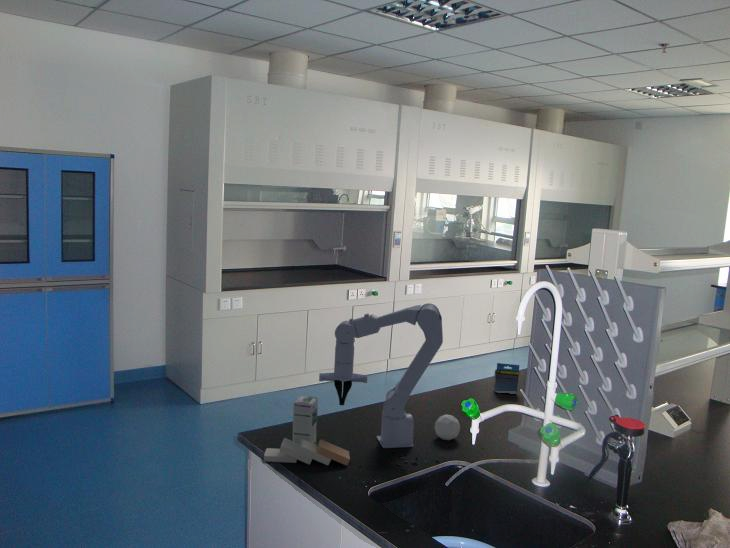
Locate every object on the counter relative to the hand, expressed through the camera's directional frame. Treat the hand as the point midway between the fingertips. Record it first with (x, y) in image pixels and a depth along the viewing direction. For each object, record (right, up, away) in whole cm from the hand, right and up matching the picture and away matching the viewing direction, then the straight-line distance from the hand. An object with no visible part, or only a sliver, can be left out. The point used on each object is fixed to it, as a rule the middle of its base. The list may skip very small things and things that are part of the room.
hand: (341, 404), depth 179 cm
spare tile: (+2, -12, -15) cm, 19 cm away
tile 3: (-8, -11, -16) cm, 21 cm away
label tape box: (+62, -7, +52) cm, 81 cm away
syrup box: (-11, -11, -7) cm, 17 cm away
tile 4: (-12, -11, -15) cm, 22 cm away
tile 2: (-3, -12, -16) cm, 20 cm away
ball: (+33, -12, +5) cm, 35 cm away
